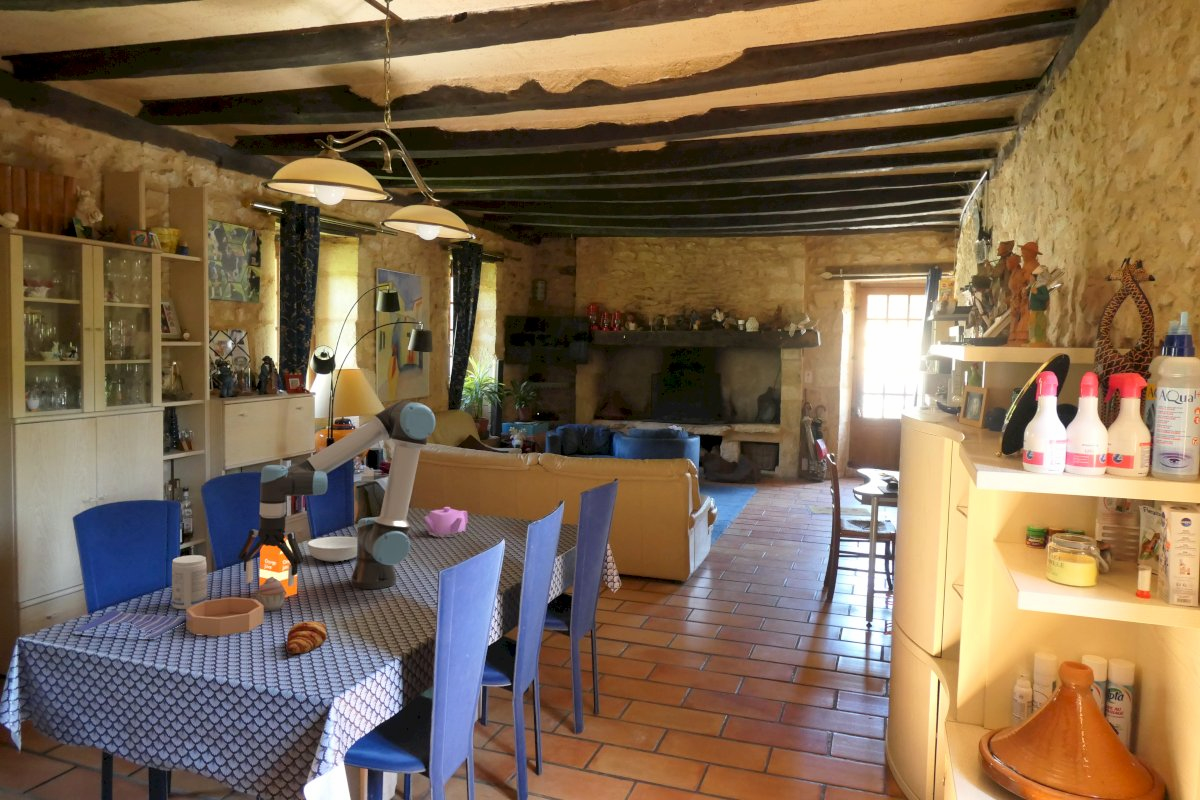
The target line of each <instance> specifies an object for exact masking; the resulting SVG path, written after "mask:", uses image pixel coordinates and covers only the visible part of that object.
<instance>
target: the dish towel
mask: <svg viewBox="0 0 1200 800" xmlns="http://www.w3.org/2000/svg"><path fill="white" fill-rule="evenodd" d="M130 621H131V622H133V623H135V624H134V625H136V626H137V627H138V626H140V628H139V627H138V628H136V629H137V630H136V631H139V630H143V629H147V630H145V632H146V633H147V632H149V631H151V630H155V631H153V632H151V633H149V634H148V633H147V634H146V635H144V636H142V637H147V638H155V637H157V636H159V635H161V634H163V633H165V632H167V631H169V630H171V629H173V628H175V627H177V626H179V625H181V624H183V623H185V622H186V615H185V616H181V615H179V616H165V615H156V614H143V613H142V614H141V613H131V612H130V613H129V612H124V611H122V610H121V611H120V610H116V609H112V610H111V611H108V612H106V613H105V614H104V615H101V616H100V617H98V618H96V619H94V620H93V621H90V622H88V623H85V624H83V625H82V626H79V627H77V628H76V629H75V630H74V631H86V630H88V629H90V628H92V627H95V626H98V625H100V624H104V623H107V622H108V623H109V622H110V623H111V624H114V623H115V624H116V623H118V624H119V623H122V622H130ZM185 624H186V623H185ZM130 625H132V626H133V624H129V626H130ZM141 625H142V626H141ZM183 625H184V624H183ZM136 626H134V627H136ZM181 626H182V625H181ZM122 628H124V627H122ZM130 629H132V628H130ZM133 629H135V628H133ZM125 631H127V630H125ZM128 631H129V629H128ZM118 632H119V631H118ZM120 632H122V633H123V631H120ZM120 632H119V633H120ZM145 632H144V634H145ZM116 633H117V632H116ZM142 634H143V633H142ZM139 635H140V634H139Z"/></svg>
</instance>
